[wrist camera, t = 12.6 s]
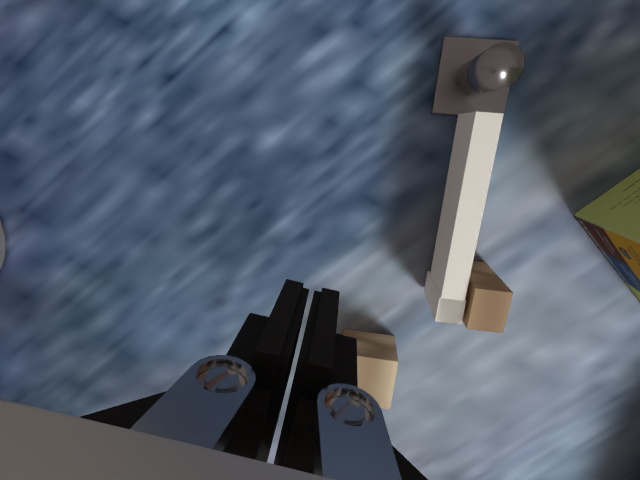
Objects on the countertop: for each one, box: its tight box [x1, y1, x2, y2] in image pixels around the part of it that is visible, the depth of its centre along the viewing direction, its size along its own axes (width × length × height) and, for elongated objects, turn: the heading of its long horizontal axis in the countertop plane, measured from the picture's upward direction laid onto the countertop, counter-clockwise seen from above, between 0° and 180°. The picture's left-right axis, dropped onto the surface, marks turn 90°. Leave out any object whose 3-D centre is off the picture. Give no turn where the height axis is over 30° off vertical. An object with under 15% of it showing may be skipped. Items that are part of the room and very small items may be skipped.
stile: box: [462, 261, 513, 333], centre depth 28 cm, size 3×3×6 cm
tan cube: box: [343, 329, 398, 409], centre depth 32 cm, size 4×4×4 cm
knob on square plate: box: [431, 36, 525, 117], centre depth 24 cm, size 5×5×6 cm
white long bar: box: [424, 112, 504, 324], centre depth 27 cm, size 14×2×5 cm, turn 176°
